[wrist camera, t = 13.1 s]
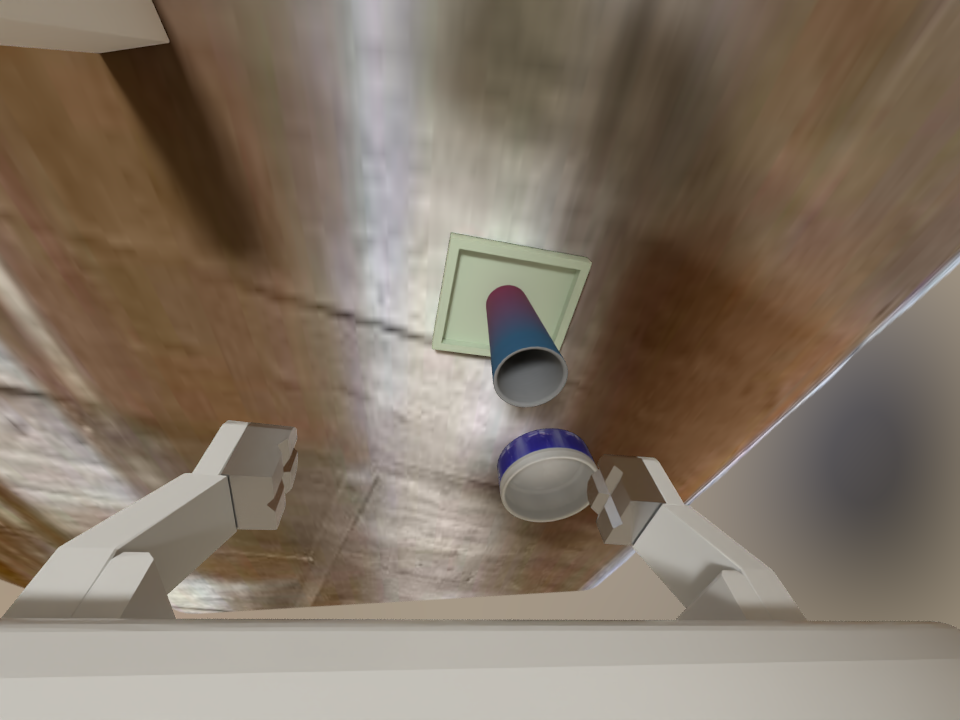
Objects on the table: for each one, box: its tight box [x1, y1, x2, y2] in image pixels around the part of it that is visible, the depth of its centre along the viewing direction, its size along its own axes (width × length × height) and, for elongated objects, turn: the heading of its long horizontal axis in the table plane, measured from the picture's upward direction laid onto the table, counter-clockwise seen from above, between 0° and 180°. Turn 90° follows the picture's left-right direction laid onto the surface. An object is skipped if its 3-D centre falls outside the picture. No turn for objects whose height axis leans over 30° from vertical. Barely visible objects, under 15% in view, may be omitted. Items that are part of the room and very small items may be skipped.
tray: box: [432, 233, 592, 357], centre depth 49 cm, size 14×16×2 cm
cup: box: [486, 285, 568, 407], centre depth 43 cm, size 7×7×15 cm
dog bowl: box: [497, 429, 598, 522], centre depth 64 cm, size 15×15×6 cm
